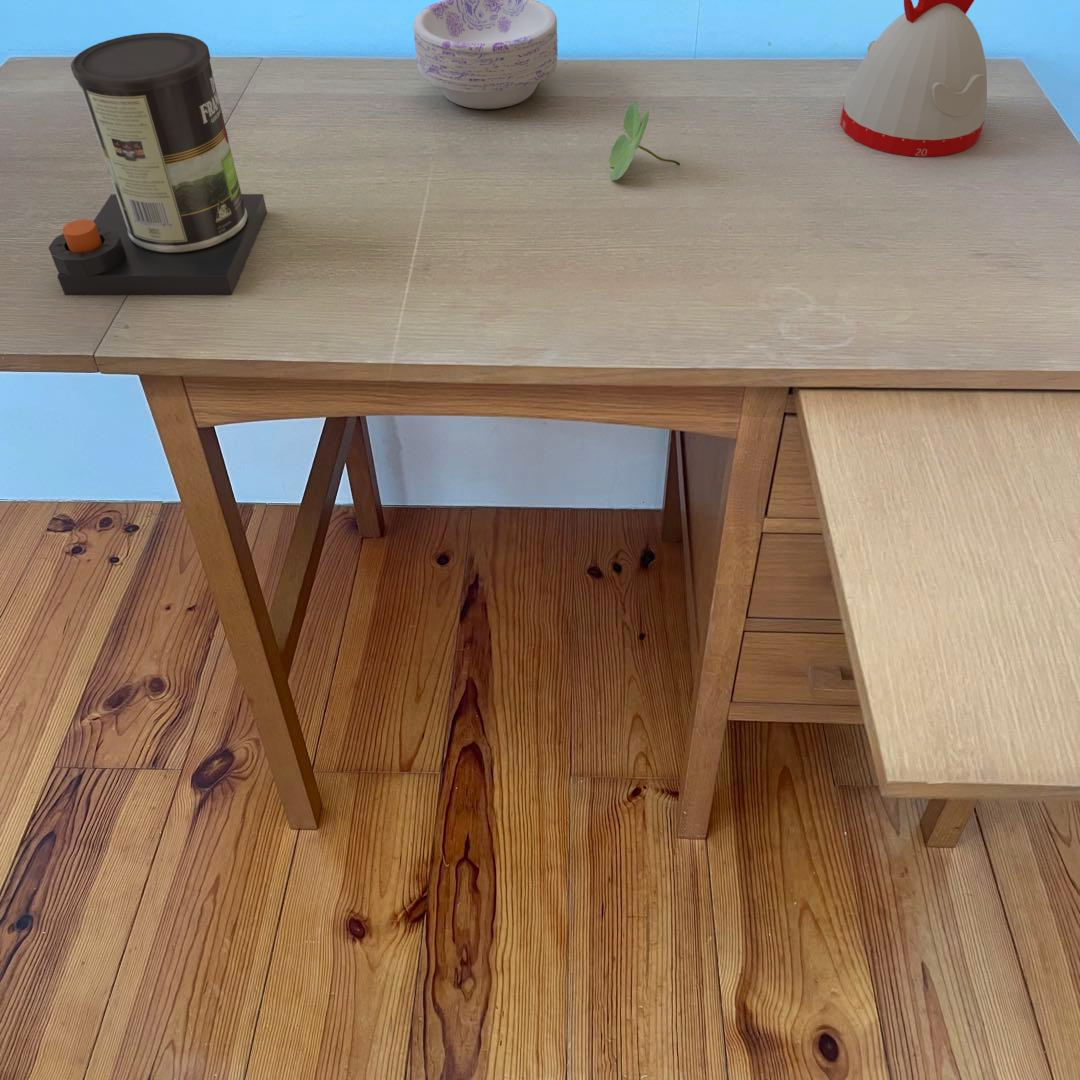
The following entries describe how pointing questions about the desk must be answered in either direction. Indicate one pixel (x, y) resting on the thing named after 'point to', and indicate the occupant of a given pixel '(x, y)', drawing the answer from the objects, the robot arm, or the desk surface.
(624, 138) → the seedling
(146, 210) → the coffee can
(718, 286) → the desk surface
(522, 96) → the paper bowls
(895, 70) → the kitchen timer
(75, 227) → the button
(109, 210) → the scale
